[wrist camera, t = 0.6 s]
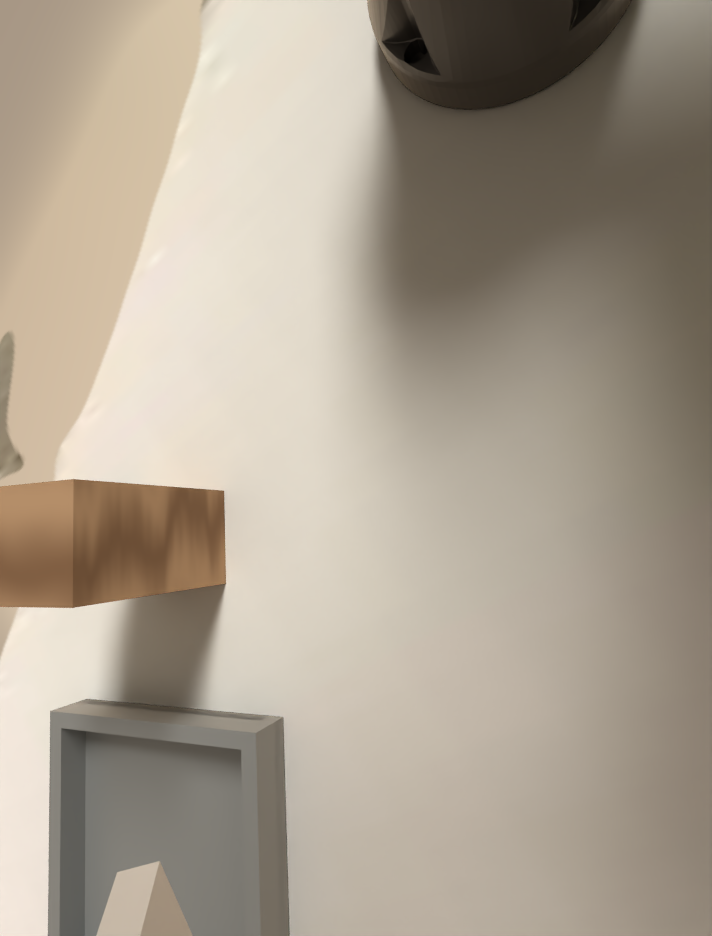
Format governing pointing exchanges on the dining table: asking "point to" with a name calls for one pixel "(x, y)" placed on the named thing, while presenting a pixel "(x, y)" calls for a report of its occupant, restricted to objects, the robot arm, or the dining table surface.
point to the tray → (168, 814)
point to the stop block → (107, 542)
